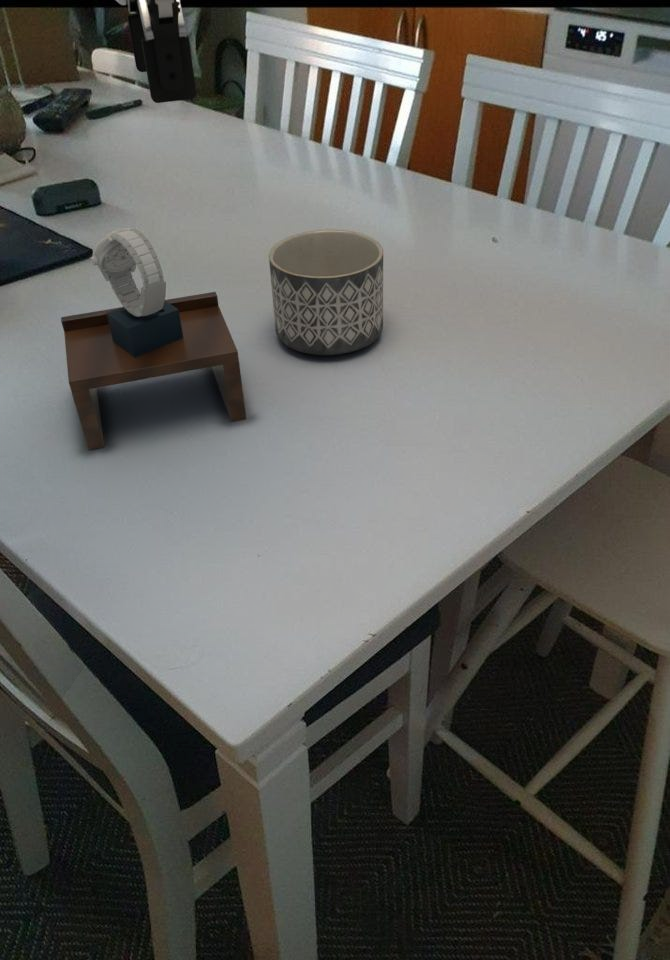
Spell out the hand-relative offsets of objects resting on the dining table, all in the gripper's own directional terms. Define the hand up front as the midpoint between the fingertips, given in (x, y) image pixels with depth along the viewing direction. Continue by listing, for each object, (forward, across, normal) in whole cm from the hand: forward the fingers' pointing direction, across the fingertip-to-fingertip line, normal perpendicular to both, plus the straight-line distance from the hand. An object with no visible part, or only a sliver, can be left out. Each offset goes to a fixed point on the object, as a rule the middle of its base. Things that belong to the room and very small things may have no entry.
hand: (165, 83), depth 62 cm
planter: (+32, -14, +16) cm, 39 cm away
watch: (+24, -6, -5) cm, 26 cm away
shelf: (+32, -6, -5) cm, 33 cm away
